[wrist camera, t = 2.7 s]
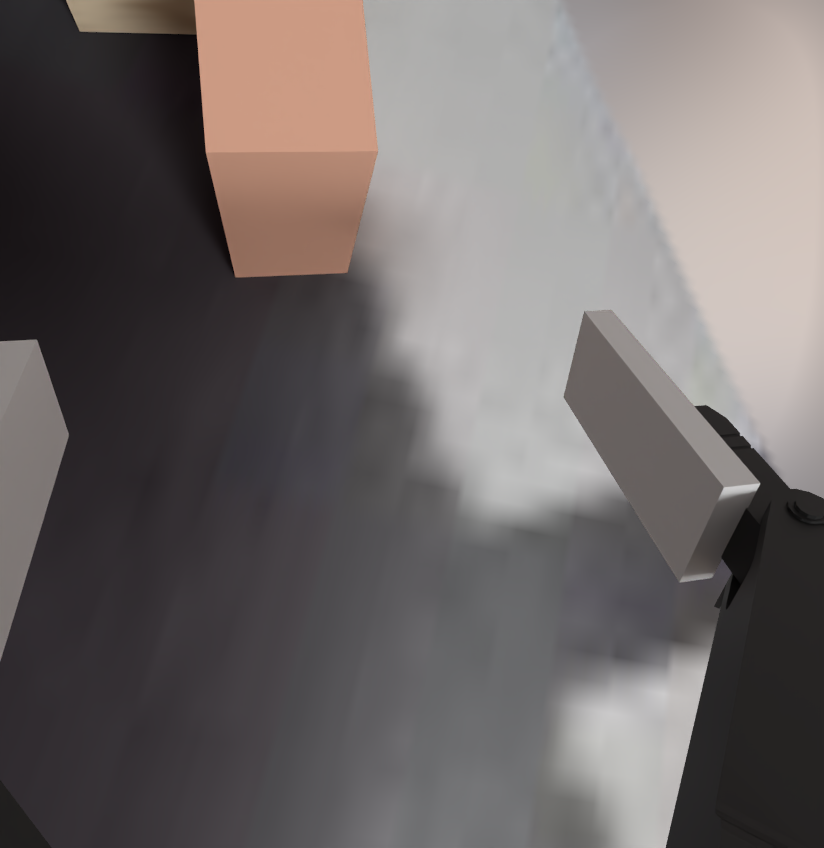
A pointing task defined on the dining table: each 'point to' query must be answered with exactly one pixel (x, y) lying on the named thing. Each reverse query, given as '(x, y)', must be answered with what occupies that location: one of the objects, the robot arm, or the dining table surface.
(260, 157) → the block
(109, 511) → the dining table surface
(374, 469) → the dining table surface
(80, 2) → the plinth
